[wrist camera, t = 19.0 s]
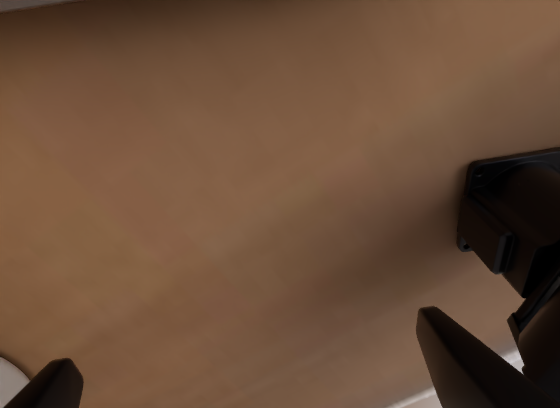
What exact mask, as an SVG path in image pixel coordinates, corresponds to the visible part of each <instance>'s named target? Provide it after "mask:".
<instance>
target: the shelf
mask: <svg viewBox="0 0 560 408" xmlns="http://www.w3.org/2000/svg"><path fill="white" fill-rule="evenodd" d="M79 1H85V0H0V14H3V13H9V12H16V11H22V10H28V9H35V8H41V7H47V6H54V5H60V4H66V3H73V2H79Z"/></svg>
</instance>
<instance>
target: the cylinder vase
mask: <svg viewBox="0 0 560 408" xmlns="http://www.w3.org/2000/svg"><path fill="white" fill-rule="evenodd" d="M29 382H30V380H29V379H28V378H27V376H26V375H25V374H24V373H23V372H22V371H21V370H20V369H18V368H17V367H16V366H14V365H13V364H12V363H10V362H9V361H7V360H5V359H3V358H2V357H0V408H3V407H4V406H5V405H6V404H7V403H8V402H9V401H10V400H11V399H12V398H13V397H14V396H15V395H16V394H17V393H18V392H19V391H20V390H22V389H23V388H24V387H25V386H26V385H27V384H28V383H29Z"/></svg>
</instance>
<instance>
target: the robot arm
mask: <svg viewBox="0 0 560 408" xmlns="http://www.w3.org/2000/svg"><path fill="white" fill-rule="evenodd" d="M478 168H480V170H479V171H478V172H476V170H477V169H478ZM457 232H458V237H457V247H458V248H459V249H460V250H461V251H462V252H468V251H474V252H475V253H476V254H477V255H478V257H479V258H480V259H481V260H482V261H483V262H484V264H485V265H486V266H487V267H488V268H489V269H490V271H491V272H493V273H494V274H502V275H503V276H504V278H505V279H506V280H507V281H508V282H509V283H510V284H511V286H512V287H513V288H514V289H515V290H516V291H517V292H518V294H519V295H520V296H521V297H522V298H526V299H525V301H524V302H523V303H522V305H521V306H520V307H519V308H518V310H517V311H516V312H514V313H512V314H511V315H510V317H509V318H508V319H507V322H508V325H509V327H510V330H511V332H512V335H513V337H514V340H515V342H516V345H517V347H518V350H519V353H520V355H521V358H522V360H523V363H524V366H523V367H522V372H523V374H524V375H523V374H522V373H521V372H519V371H518V370H517V369H516V368H514V367H513V366H512V365H510V364H509V363H508V362H507V361H505V360H504V359H503V358H501V357H500V356H499V355H498V354H496V353H495V352H494V351H492V350H491V349H490V348H489V347H487V346H486V345H485V344H483V343H482V342H481V341H480V340H478V339H477V338H476V337H475V336H473V335H472V334H471V333H469V332H468V331H467V330H466V329H464V328H463V327H462V326H460V325H459V324H458V323H457V322H455V321H454V320H453V319H451V318H450V317H449V316H448V315H446V314H445V313H444V312H442V311H441V310H440V309H439V308H437V307H435V306H431V307H424V308H420V309H419V311H418V317H417V325H416V334H417V338H418V341H419V344H420V347H421V350H422V353H423V356H424V359H425V361H426V364H427V367H428V370H429V373H430V376H431V379H432V382H433V385H434V387H435V390H436V393H437V396H438V398H439V400H440V403H441V405H442V407H443V408H560V148H554V149H548V150H542V151H535V152H529V153H523V154H517V155H511V156H504V157H498V158H492V159H486V160H480V161H476V162H473V163H472V164H471V165H470V166H469V168H468V172H467V178H466V185H465V191H464V197H463V198H462V200H461V207H460V213H459V220H458V227H457ZM466 243H467V244H466ZM465 244H466V245H465ZM83 383H84V382H83V376H82V375H81V373H80V372H79V370H78V368H77V367H76V365H75V364H74V362H73V361H72V360H71V359H70V358H62V359H56V360H53V361H51V362H49V363H48V364H47V365H46V366H45V367H44V368H43V369H42V370H41V371H40V372H39V373H38V374H37V375H36V376H35V377H34V378H33V379H32V380H31V381H30V382H29V383H28V384H27V385H26V386H25V387H24V388H23V389H22V390H20V391H19V392H18V393H17V394H16V395H15V396H14V397H13V398H12V399H11V400H10V401H9V402H8V403H7V404H6V405H5V406H4V407H3V408H79V405H80V400H81V395H82V390H83Z"/></svg>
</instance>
